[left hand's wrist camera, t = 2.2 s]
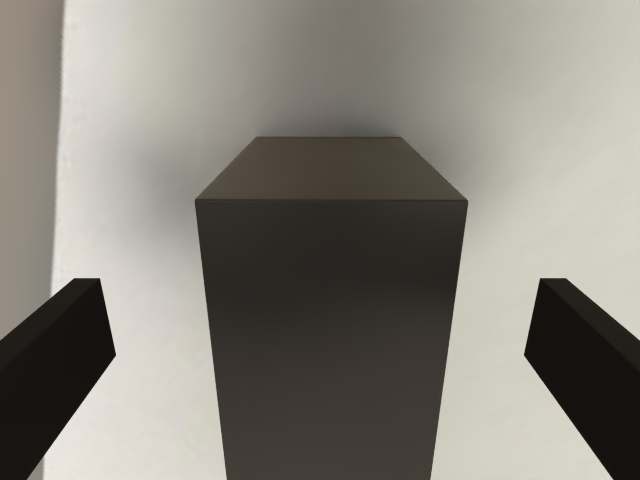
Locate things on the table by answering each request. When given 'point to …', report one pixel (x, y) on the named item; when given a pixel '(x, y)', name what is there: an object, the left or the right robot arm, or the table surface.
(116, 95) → the table surface
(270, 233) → the box
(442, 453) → the table surface
